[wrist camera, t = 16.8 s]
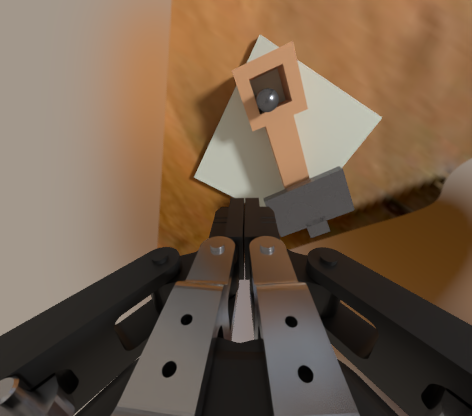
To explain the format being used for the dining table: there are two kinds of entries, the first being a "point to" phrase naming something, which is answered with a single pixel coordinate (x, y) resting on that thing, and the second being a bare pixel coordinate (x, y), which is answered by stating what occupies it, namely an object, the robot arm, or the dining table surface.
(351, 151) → the board
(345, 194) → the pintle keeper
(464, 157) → the dining table surface
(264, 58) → the link
